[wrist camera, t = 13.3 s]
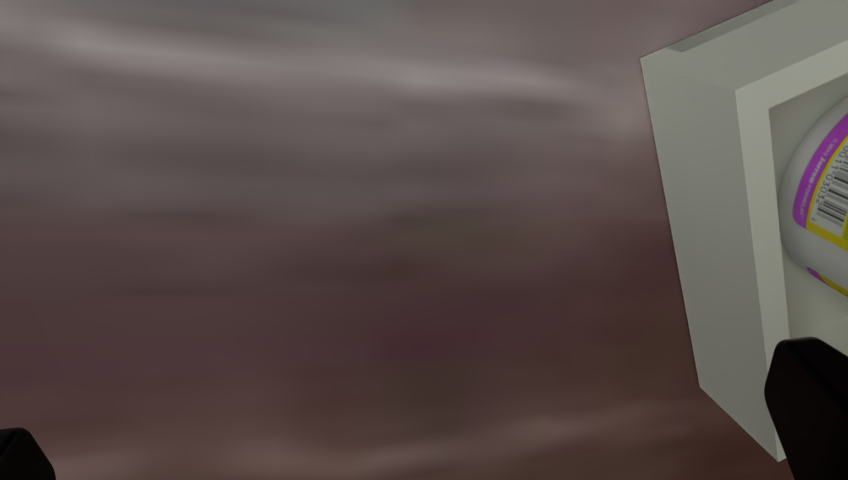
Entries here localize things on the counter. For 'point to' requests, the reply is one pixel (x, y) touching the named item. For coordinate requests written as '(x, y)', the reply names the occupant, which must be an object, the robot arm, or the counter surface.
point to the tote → (745, 189)
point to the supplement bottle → (819, 200)
